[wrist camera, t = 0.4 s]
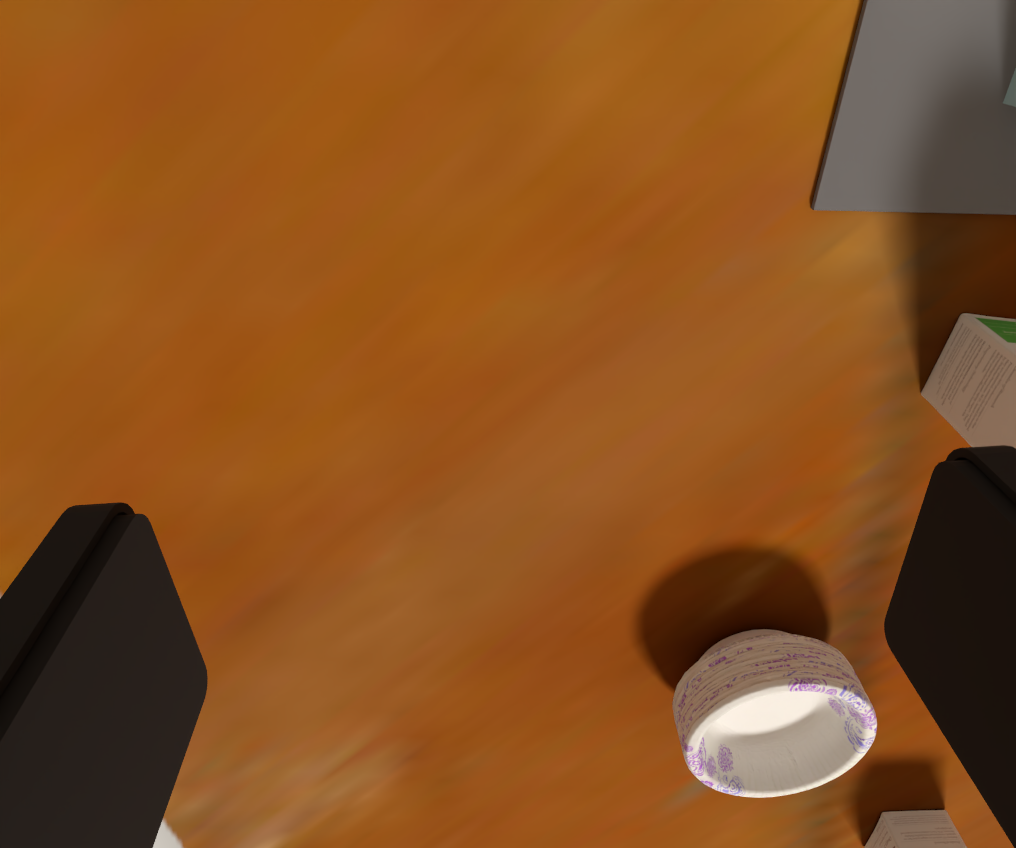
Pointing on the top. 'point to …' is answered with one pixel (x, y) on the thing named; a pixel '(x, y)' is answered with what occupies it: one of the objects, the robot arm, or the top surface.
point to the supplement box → (915, 830)
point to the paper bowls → (772, 714)
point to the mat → (925, 111)
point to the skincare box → (977, 380)
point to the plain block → (1011, 92)
